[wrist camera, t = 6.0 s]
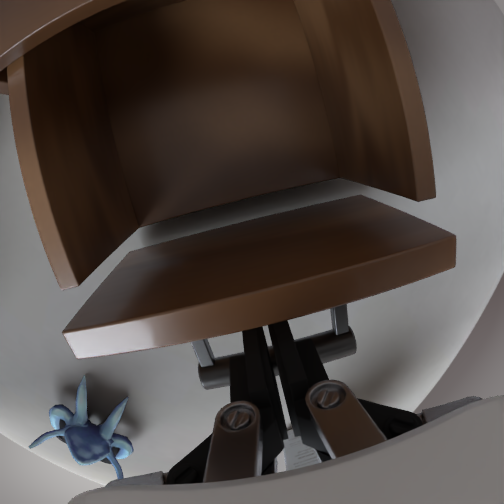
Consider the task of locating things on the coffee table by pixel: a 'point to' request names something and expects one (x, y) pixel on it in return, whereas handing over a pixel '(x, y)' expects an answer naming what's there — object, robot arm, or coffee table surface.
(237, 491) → the robot arm
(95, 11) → the cabinet
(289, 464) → the cosmetic box
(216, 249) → the drawer
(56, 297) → the coffee table surface
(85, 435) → the figurine
